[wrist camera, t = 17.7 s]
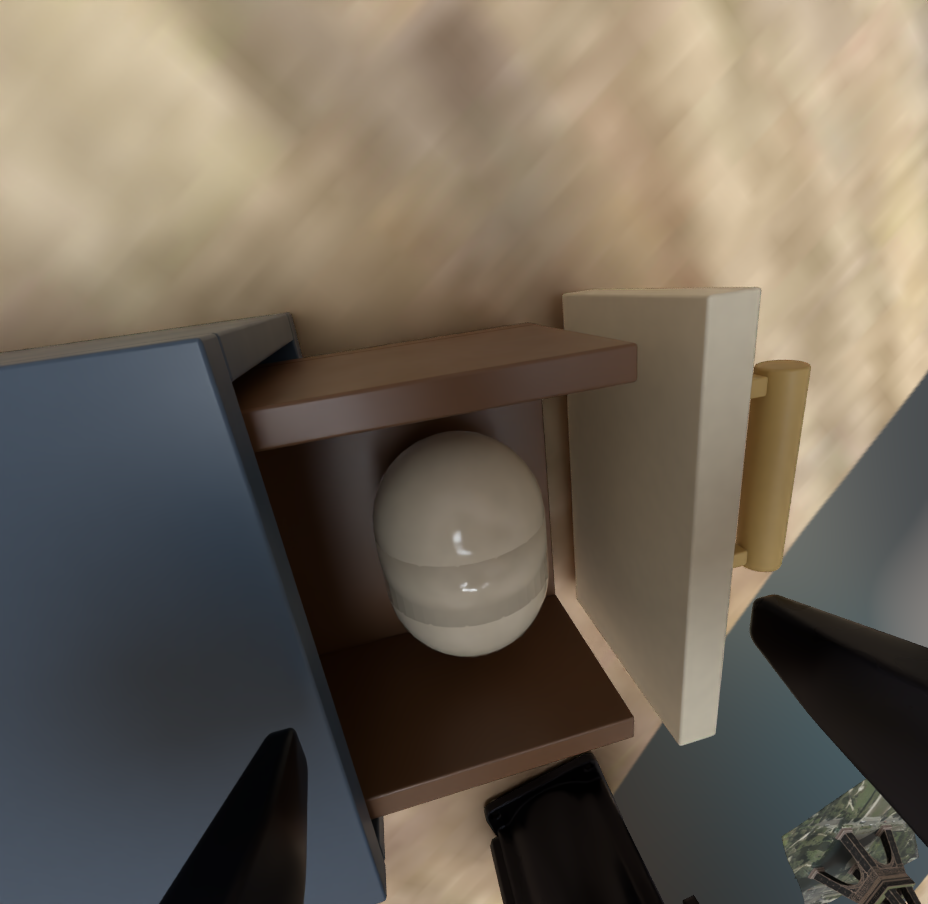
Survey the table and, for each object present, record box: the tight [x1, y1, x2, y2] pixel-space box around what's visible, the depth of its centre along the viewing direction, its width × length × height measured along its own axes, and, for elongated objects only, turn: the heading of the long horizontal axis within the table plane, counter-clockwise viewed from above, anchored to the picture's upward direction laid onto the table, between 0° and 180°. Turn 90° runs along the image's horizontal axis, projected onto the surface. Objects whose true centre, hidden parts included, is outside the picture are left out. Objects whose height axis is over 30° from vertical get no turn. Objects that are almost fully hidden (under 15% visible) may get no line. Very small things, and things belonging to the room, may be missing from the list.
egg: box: [372, 430, 549, 657], centre depth 13 cm, size 7×5×5 cm
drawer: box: [232, 287, 811, 820], centre depth 13 cm, size 19×12×7 cm, turn 97°
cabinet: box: [0, 312, 387, 904], centre depth 11 cm, size 16×14×9 cm
